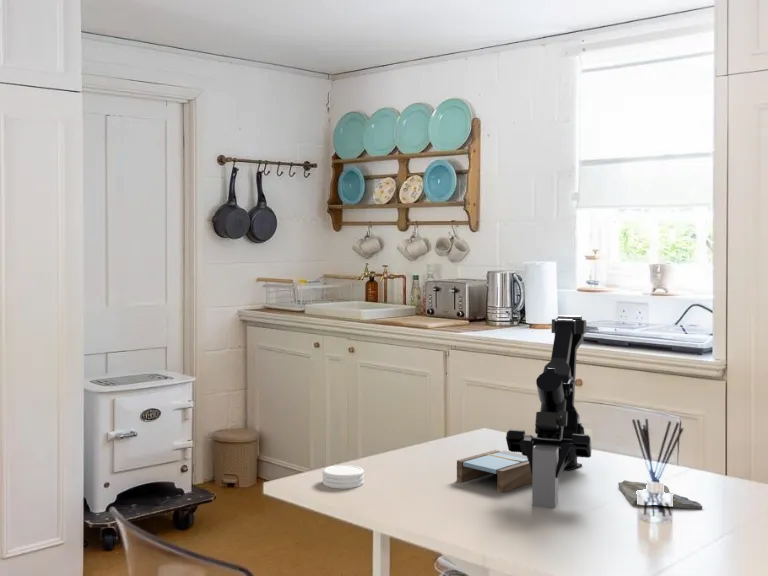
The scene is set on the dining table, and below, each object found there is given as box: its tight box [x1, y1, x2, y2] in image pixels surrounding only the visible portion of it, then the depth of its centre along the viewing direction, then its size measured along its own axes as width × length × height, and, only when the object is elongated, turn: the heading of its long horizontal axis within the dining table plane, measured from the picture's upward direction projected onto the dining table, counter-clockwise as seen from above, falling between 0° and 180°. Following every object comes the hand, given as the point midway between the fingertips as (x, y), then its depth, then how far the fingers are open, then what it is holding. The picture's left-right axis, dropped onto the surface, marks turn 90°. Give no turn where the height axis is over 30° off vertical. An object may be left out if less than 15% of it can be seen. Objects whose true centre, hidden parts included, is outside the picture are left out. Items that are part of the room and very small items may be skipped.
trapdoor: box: [463, 450, 528, 475], centre depth 220 cm, size 10×16×3 cm, turn 135°
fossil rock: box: [618, 480, 703, 510], centre depth 206 cm, size 18×15×2 cm
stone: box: [531, 445, 559, 509], centre depth 201 cm, size 5×5×12 cm
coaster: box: [321, 464, 365, 490], centre depth 218 cm, size 10×10×4 cm
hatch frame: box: [456, 449, 532, 493], centre depth 220 cm, size 14×16×5 cm
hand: (544, 475), depth 200 cm, fingers closed on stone, 5 cm apart
